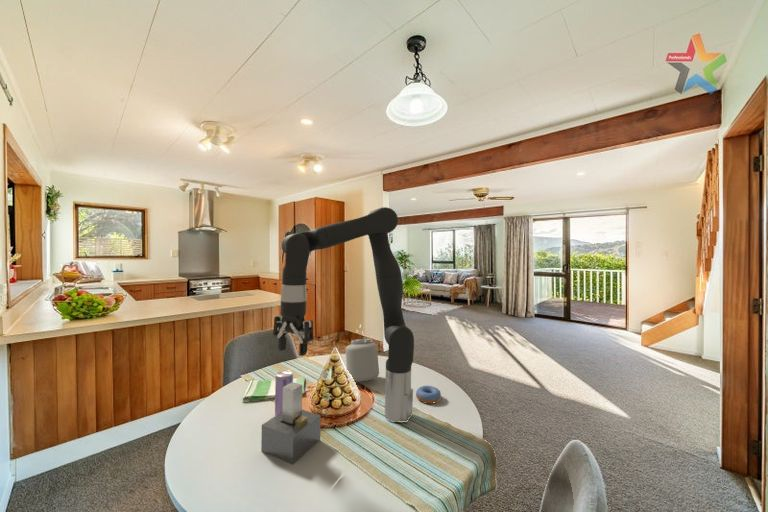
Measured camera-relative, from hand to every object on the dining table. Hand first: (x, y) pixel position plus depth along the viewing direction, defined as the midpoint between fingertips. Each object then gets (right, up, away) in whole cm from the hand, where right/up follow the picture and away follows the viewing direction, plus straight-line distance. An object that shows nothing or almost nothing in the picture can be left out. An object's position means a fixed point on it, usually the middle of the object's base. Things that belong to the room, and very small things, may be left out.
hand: (292, 352), depth 90 cm
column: (0, -28, -1) cm, 28 cm away
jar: (+17, -28, +48) cm, 58 cm away
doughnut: (+46, -29, +30) cm, 62 cm away
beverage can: (-8, -28, +17) cm, 34 cm away
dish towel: (-18, -28, +36) cm, 49 cm away
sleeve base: (0, -28, -1) cm, 28 cm away
